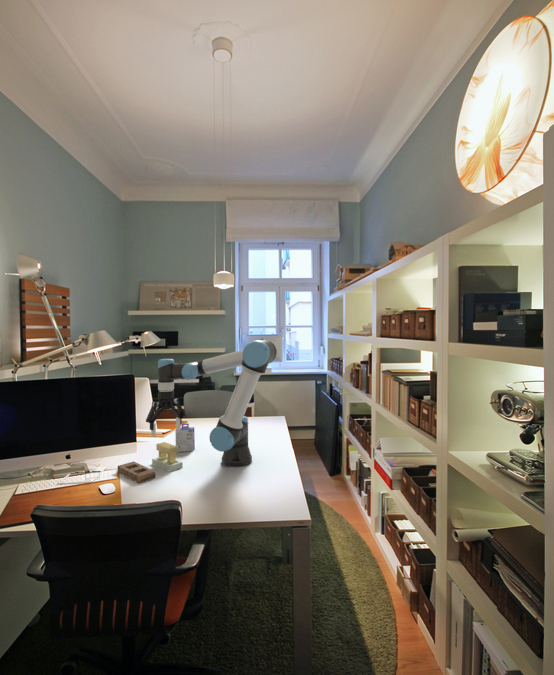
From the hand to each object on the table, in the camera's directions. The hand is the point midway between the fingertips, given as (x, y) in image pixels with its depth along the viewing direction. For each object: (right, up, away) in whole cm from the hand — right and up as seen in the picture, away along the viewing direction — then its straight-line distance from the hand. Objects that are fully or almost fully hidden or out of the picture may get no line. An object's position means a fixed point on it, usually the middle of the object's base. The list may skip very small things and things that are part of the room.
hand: (166, 433), depth 181 cm
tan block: (+1, -16, 0) cm, 16 cm away
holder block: (+1, -16, 0) cm, 16 cm away
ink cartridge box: (+4, -16, +24) cm, 29 cm away
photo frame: (-34, -17, -12) cm, 40 cm away
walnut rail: (-10, -16, -12) cm, 22 cm away
